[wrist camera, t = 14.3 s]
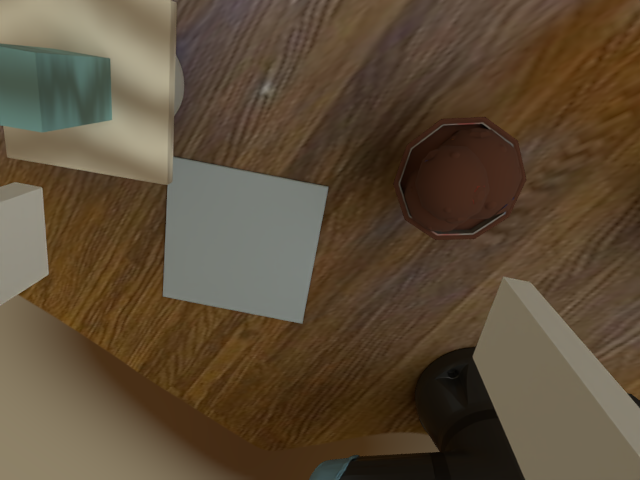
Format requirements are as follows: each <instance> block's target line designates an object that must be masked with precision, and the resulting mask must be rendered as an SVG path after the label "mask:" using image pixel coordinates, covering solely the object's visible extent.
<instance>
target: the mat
mask: <svg viewBox="0 0 640 480" xmlns="http://www.w3.org/2000/svg"><path fill="white" fill-rule="evenodd" d="M327 192H328V186H323V185H318V184H313V183H308V182H302V181H297V180H292V179H287V178H282V177H277V176H272V175H267V174H261V173H256V172H251V171H246V170H241V169H236V168H231V167H225V166H220V165H215V164H210V163H205V162H200V161H195V160H189V159H184V158H179V157H174V156H173V181H172V183H170V184H168V188H167V212H166V235H165V259H164V282H163V296H164V297H169V298H174V299H179V300H184V301H189V302H194V303H199V304H205V305H210V306H215V307H220V308H225V309H230V310H235V311H240V312H245V313H251V314H256V315H261V316H266V317H271V318H276V319H281V320H286V321H292V322H297V323H302V322H303V317H304V311H305V306H306V301H307V296H308V291H309V285H310V280H311V275H312V270H313V265H314V260H315V254H316V249H317V244H318V239H319V234H320V228H321V223H322V218H323V213H324V208H325V202H326V197H327Z"/></svg>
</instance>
